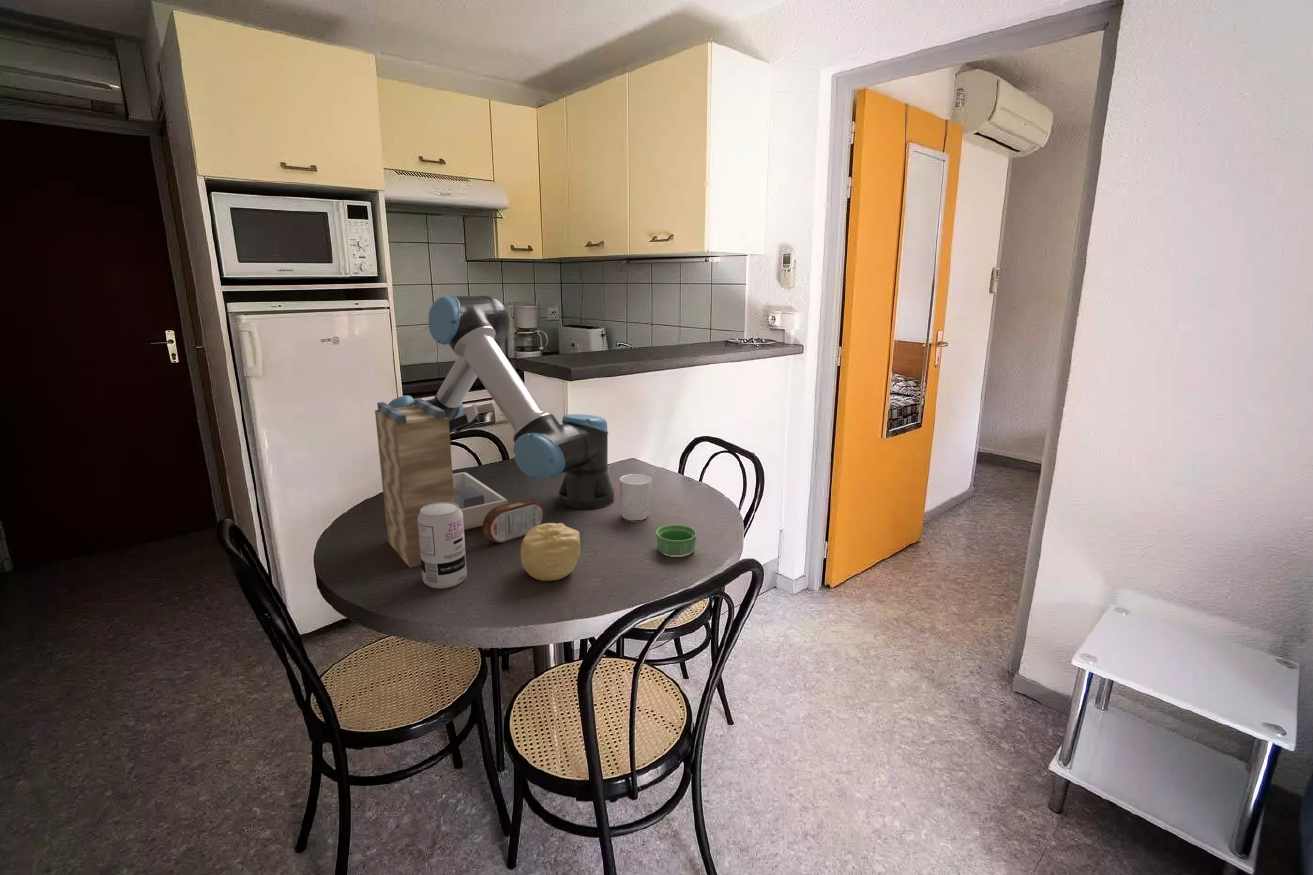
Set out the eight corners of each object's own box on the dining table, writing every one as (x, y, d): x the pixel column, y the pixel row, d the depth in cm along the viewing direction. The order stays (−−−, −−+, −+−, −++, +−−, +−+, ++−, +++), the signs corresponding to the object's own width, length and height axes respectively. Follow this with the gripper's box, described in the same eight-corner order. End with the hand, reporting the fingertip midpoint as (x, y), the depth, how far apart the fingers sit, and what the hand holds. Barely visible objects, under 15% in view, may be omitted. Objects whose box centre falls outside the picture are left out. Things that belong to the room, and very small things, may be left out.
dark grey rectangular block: (435, 495, 164) (433, 477, 163) (453, 491, 167) (452, 474, 166) (465, 518, 149) (464, 499, 147) (485, 514, 152) (483, 495, 150)
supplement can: (429, 571, 124) (423, 501, 121) (471, 570, 125) (466, 500, 121) (417, 590, 116) (411, 516, 113) (462, 589, 117) (457, 515, 113)
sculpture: (528, 592, 117) (526, 539, 114) (516, 565, 127) (514, 517, 125) (586, 581, 121) (586, 530, 118) (570, 556, 132) (569, 509, 129)
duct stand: (388, 541, 138) (374, 402, 130) (433, 531, 144) (422, 398, 136) (410, 567, 125) (396, 416, 118) (458, 555, 131) (448, 410, 124)
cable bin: (416, 498, 164) (415, 480, 163) (466, 488, 172) (465, 471, 171) (454, 532, 143) (452, 512, 142) (508, 519, 151) (507, 500, 150)
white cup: (652, 511, 158) (653, 474, 155) (649, 523, 150) (649, 484, 148) (622, 510, 159) (622, 473, 156) (617, 521, 151) (617, 483, 149)
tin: (539, 526, 147) (538, 493, 145) (547, 530, 145) (546, 497, 143) (482, 544, 137) (480, 509, 135) (489, 549, 135) (488, 513, 133)
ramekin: (649, 545, 138) (649, 527, 137) (685, 539, 142) (685, 522, 140) (665, 562, 130) (666, 543, 129) (703, 555, 134) (704, 537, 133)
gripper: (475, 444, 178) (500, 419, 161) (384, 457, 163) (401, 433, 146) (468, 419, 179) (493, 393, 162) (378, 431, 164) (394, 403, 147)
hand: (449, 412), depth 154 cm, fingers open, 13 cm apart
